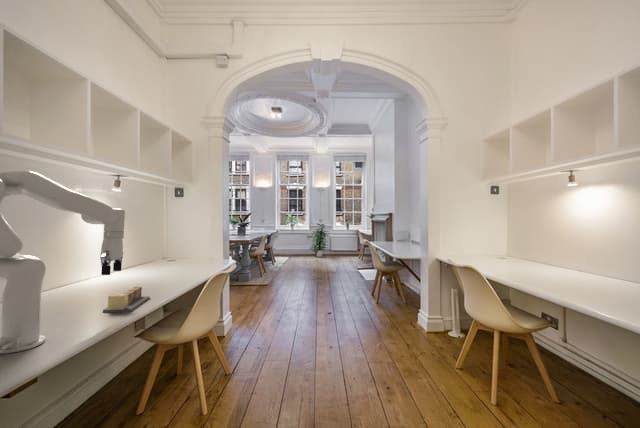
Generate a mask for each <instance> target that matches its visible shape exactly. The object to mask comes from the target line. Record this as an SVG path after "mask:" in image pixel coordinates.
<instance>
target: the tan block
mask: <svg viewBox="0 0 640 428" xmlns="http://www.w3.org/2000/svg"><path fill="white" fill-rule="evenodd" d="M107 297H108V298H107V299H108V300H107V307H108V310H124V309H125V308H127V307H128V294H123V293H113V294H111V295H108V296H107Z"/></svg>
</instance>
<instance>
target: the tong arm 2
mask: <svg viewBox="0 0 640 428" xmlns="http://www.w3.org/2000/svg"><path fill="white" fill-rule="evenodd" d="M137 287H138V288H136V289H134V290H132V291H130V292H129V293H127V294H128V304H130V303H131V302H133V301H134V300H136V299H137V298H139V297H142V291H143V290H142V286H137Z"/></svg>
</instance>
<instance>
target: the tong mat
mask: <svg viewBox="0 0 640 428" xmlns="http://www.w3.org/2000/svg"><path fill="white" fill-rule="evenodd" d="M149 299H151V298H150V295H149V296H147V295H146V296H144V295H143V296H141V297H139V298H137V299H136V300H134V301H133V302H131V303H130V304H128V307H127V308H125V309H124V310H108V306H107V307H106V308H104V309H103V310H102V313H103V314H104V313H105V314H106V313H130V312H132V311H134V310H136V309H137V308H139V307H140V306H142V304H144V303H145V302H147V301H148V300H149Z"/></svg>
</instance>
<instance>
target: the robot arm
mask: <svg viewBox="0 0 640 428" xmlns="http://www.w3.org/2000/svg"><path fill="white" fill-rule="evenodd" d="M16 195H18V196H19V195H21V196H22V195H23V196H26V197H28V198H31V199H34V200H36V201H39V202H40V203H43V204H45V205H47V206H49V207H52V208H54V209H56V210H58V211H59V210H61V211H64V212H69V213H75V214H78V215H80V216H81V219H82V220H83V222H85V223H87V224H89V225H90V224H91V225H103V235H102V236H103V240H102V243H101V249H100V257H99V258H100V263H101V265H100V266H101V276H109V275H111V263H112V261H113V263H112V264H113V267H112V271H113V272H121V271H122V264H123V263H122V262H123V257H124V251H123V248H124V242H123V239H124V238H125V236H124V235H125V221H126V220H125V219H126V218H125V217H126V211H125V209H123V208H116V207H115V208H113V207H112V206H110V205H108V204H106V203H104V202H102V201H100V200H98V199H96V198H93V197H90V196H88V195H85V194H82V193H80V192H76V191H74V190H71V189H69V188H67V187H65V186H63V185H62V184H60V183H58V182H55V181H53V180H51V179H50V178H48V177H46V176H44V175H42V174H40V173H38V172H35V171H31V170H19V171H8V172H7V171H5V172H0V206H2V205H1V204H2V202H3V200H4V199H5V198H6V197H11V196H16ZM23 246H24V245H23V241H22V239H21V237H20V236H19V235H18V233H16V231H15V230H14V229H13V228H12V227H11V225H10V224H9V223H8V222H7V221H6V219H5V217H4V216H3V214H2V212H1V211H0V281H5V282H6V284H5V287H4V289H3V293H2V298H1V299H2V301H1V323H0V324H1V325H0V354H11V353H13V354H14V353H17V352H22V351H26V350H29V349H33V348H35V347H38V346H40V345H42V344H43V343H45V341H46V336H45V335H43V334H41V333H40V332H41V314H42V313H41V311H42V307H41V306H42V289H43V284H44V283H43V282H44V278H45V274H46V272H47V271H46V270H47V269H46V265H45V263H44V261H43V260H42V259H41V258H39V257H36V256H33V255H27V254H19V253H20V252H21V251H22V249H23Z"/></svg>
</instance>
